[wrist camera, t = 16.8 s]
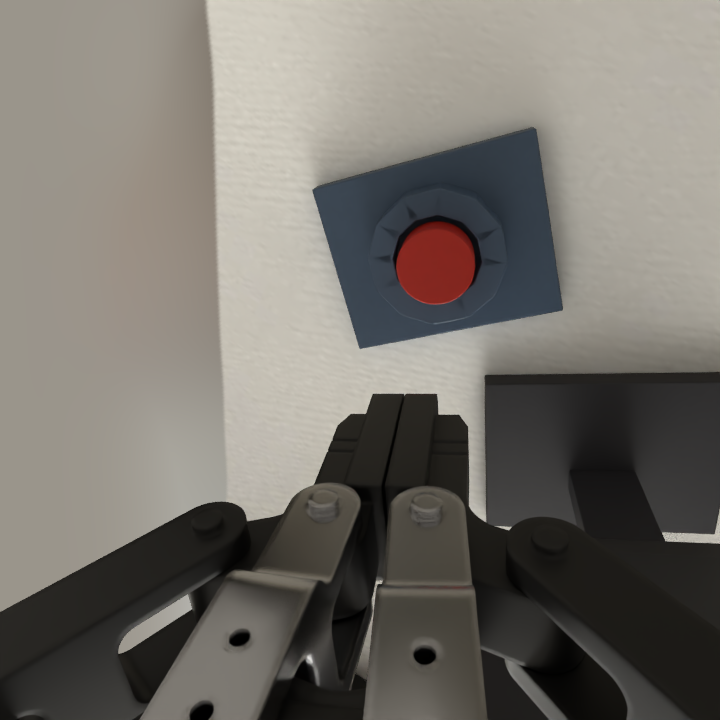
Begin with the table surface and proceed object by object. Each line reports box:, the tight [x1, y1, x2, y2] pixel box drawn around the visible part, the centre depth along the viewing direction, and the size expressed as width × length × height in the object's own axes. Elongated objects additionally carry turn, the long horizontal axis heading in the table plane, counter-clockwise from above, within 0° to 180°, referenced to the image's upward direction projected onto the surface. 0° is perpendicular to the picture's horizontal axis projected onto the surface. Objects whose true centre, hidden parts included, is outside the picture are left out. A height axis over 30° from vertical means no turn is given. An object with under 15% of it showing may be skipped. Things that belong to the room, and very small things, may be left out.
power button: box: [396, 221, 475, 305], centre depth 27 cm, size 4×4×2 cm
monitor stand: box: [485, 372, 720, 542], centre depth 30 cm, size 10×13×8 cm
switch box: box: [313, 127, 563, 349], centre depth 29 cm, size 11×9×3 cm
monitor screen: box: [481, 539, 720, 720], centre depth 21 cm, size 3×16×13 cm, turn 96°
